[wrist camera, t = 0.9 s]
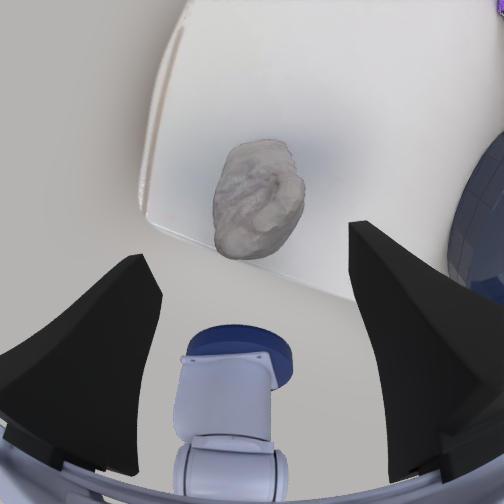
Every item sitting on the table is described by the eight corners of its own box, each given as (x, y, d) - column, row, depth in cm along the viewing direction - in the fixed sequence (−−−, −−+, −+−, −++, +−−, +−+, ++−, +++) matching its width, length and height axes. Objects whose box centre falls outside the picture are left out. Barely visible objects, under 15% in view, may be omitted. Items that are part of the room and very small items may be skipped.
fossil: (256, 210, 20) (251, 320, 12) (210, 190, 19) (173, 292, 11) (297, 139, 17) (331, 211, 9) (247, 115, 16) (230, 162, 8)
